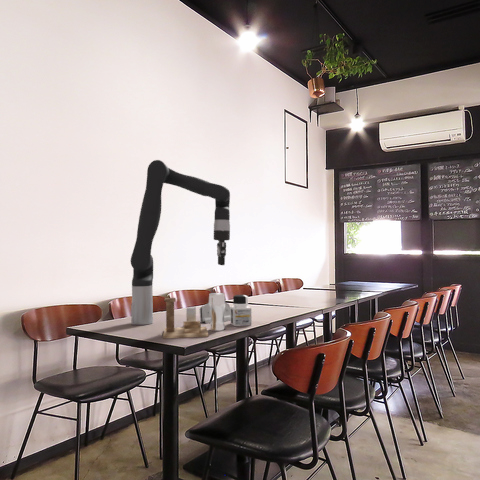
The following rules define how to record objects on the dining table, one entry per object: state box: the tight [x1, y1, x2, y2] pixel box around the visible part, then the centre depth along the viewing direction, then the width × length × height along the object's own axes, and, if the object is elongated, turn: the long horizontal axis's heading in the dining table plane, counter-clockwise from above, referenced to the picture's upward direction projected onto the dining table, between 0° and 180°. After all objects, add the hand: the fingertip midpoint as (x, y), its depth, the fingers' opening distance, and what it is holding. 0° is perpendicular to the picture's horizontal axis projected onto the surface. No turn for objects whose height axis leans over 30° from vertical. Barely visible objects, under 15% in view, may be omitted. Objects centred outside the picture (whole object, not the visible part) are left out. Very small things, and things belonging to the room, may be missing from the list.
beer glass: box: [208, 292, 227, 332], centre depth 172 cm, size 7×7×15 cm
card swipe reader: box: [199, 302, 231, 325], centre depth 195 cm, size 17×5×10 cm, turn 127°
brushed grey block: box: [185, 306, 197, 321], centre depth 181 cm, size 4×4×8 cm
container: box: [230, 294, 252, 327], centre depth 184 cm, size 8×8×13 cm
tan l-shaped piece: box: [162, 297, 209, 339], centre depth 165 cm, size 17×16×14 cm
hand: (221, 264), depth 192 cm, fingers open, 8 cm apart
